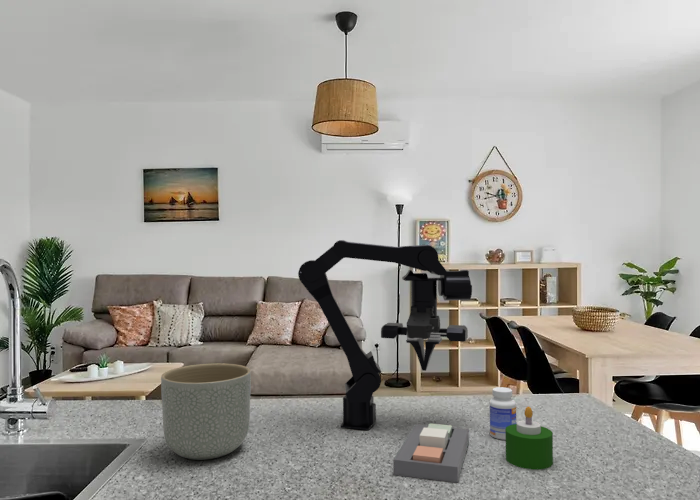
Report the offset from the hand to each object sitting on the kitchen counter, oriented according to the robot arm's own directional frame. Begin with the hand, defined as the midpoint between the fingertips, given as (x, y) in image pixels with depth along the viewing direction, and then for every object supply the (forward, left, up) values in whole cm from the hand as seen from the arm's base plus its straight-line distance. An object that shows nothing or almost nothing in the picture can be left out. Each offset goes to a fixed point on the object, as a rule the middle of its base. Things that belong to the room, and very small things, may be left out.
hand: (424, 370), depth 120 cm
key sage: (+5, -12, -11) cm, 17 cm away
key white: (+5, -18, -10) cm, 22 cm away
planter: (-38, -28, -12) cm, 49 cm away
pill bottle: (+17, -3, -12) cm, 21 cm away
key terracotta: (+5, -25, -11) cm, 28 cm away
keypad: (+5, -19, -12) cm, 23 cm away
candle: (+22, -15, -12) cm, 29 cm away
